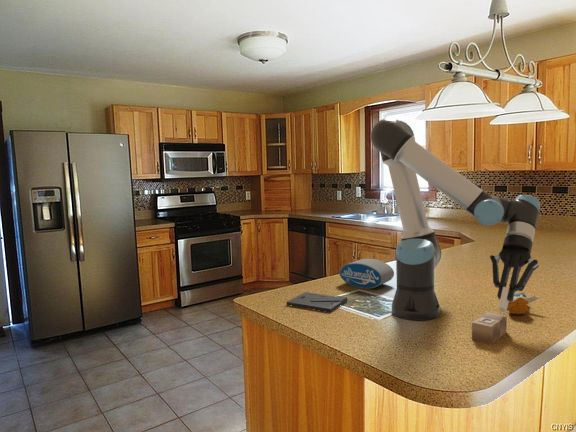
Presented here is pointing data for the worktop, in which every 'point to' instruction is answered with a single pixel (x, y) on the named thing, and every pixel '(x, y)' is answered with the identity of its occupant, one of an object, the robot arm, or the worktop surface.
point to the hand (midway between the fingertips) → (502, 309)
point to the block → (489, 327)
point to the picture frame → (317, 301)
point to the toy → (520, 303)
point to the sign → (366, 273)
